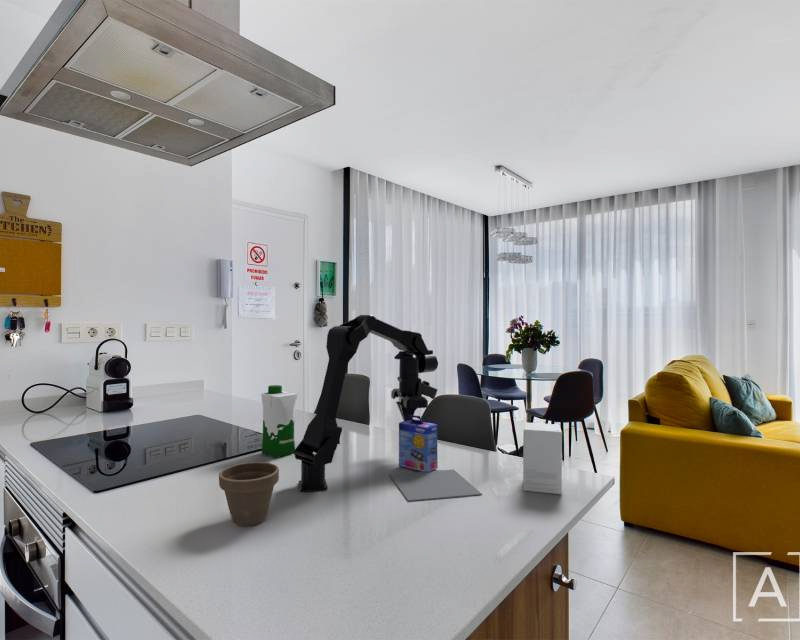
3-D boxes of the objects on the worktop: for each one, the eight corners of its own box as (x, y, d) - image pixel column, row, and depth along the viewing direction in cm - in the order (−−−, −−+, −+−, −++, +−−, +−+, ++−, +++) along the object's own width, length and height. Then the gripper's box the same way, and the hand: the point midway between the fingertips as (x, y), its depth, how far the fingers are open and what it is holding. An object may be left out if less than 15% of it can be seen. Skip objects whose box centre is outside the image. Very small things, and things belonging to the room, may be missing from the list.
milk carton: (280, 447, 146) (281, 383, 146) (300, 452, 141) (301, 386, 141) (257, 453, 139) (258, 386, 139) (276, 459, 134) (277, 390, 134)
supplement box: (559, 482, 119) (560, 423, 118) (562, 495, 110) (563, 431, 110) (522, 478, 121) (523, 421, 121) (522, 490, 112) (523, 428, 112)
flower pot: (215, 536, 87) (215, 482, 87) (220, 511, 98) (221, 463, 98) (279, 529, 90) (279, 477, 90) (277, 506, 101) (278, 459, 101)
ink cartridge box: (397, 466, 129) (397, 413, 129) (409, 462, 133) (409, 411, 134) (426, 473, 123) (427, 418, 123) (438, 468, 127) (438, 415, 128)
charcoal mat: (481, 495, 109) (481, 493, 109) (408, 501, 104) (408, 500, 104) (453, 470, 126) (453, 469, 126) (389, 475, 122) (389, 474, 122)
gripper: (445, 377, 131) (444, 433, 131) (425, 370, 149) (424, 419, 149) (407, 378, 128) (406, 435, 128) (391, 370, 146) (390, 420, 146)
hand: (408, 426), depth 138 cm, fingers closed
